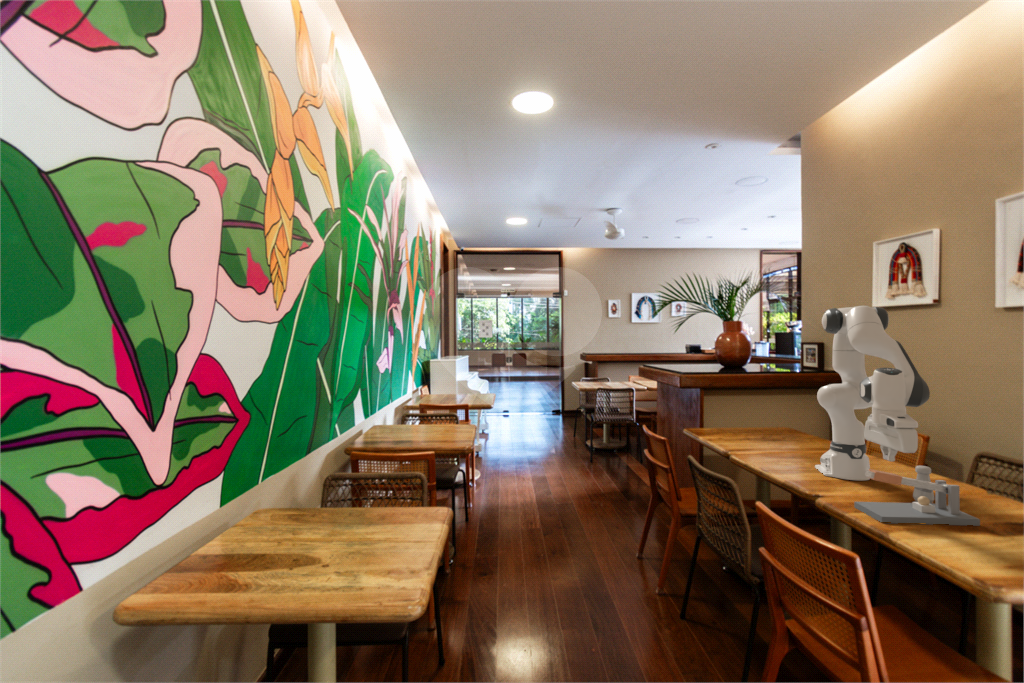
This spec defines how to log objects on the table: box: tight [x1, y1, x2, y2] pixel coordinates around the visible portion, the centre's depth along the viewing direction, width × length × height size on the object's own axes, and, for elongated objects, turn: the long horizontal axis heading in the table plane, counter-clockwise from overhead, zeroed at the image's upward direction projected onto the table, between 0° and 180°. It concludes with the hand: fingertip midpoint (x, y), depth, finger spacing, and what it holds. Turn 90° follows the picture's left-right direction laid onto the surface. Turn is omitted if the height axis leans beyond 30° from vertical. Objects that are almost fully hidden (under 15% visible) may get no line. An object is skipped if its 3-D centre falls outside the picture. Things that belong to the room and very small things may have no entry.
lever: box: [865, 468, 949, 495], centre depth 154 cm, size 26×4×4 cm, turn 84°
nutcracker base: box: [853, 479, 981, 527], centre depth 154 cm, size 28×14×11 cm, turn 84°
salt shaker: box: [912, 465, 935, 504], centre depth 166 cm, size 6×6×13 cm
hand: (888, 460), depth 155 cm, fingers closed
